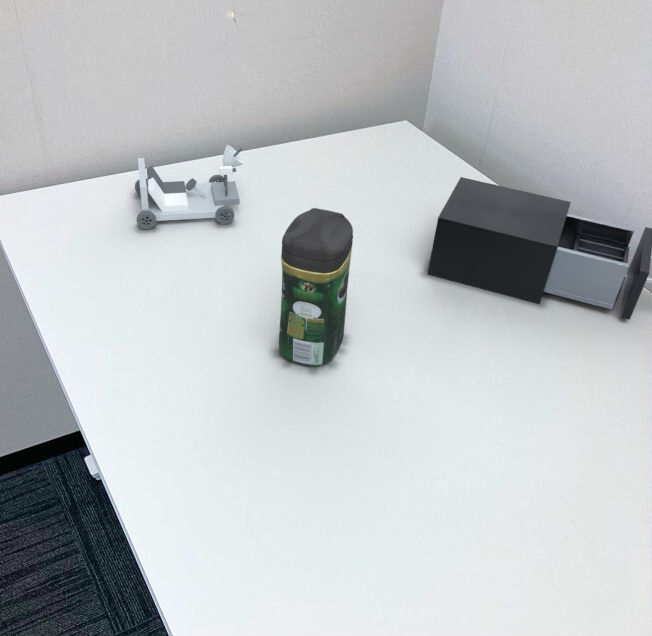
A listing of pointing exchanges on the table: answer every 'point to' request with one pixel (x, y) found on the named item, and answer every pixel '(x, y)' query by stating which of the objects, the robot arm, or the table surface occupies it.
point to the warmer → (498, 239)
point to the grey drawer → (599, 264)
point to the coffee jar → (314, 286)
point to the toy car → (188, 195)
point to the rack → (622, 259)
